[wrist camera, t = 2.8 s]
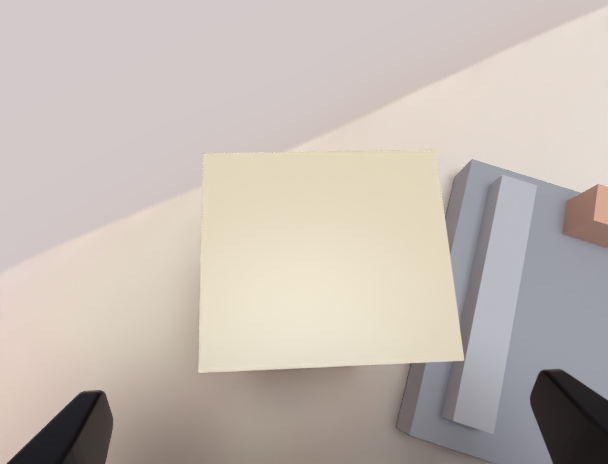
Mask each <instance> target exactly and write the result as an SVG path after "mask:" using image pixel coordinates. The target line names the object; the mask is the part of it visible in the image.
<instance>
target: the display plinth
mask: <svg viewBox="0 0 608 464" xmlns="http://www.w3.org/2000/svg"><path fill="white" fill-rule="evenodd" d="M445 221H446V229H447V236H448V243H449V251H450V258H451V265H452V273H453V280H454V288H455V295H456V302H457V310H458V317H459V324H460V332H461V339H462V346H463V354H464V361H447V362H425V363H411V367H410V371H409V375H408V379H407V384H406V388H405V392H404V396H403V401H402V405H401V409H400V413H399V418H398V422H397V426H396V428H398V429H400V430H402V431H403V432H405V433H407V434H408V435H410V436H413V437H416V438H419V439H422V440H425V441H428V442H431V443H434V444H437V445H440V446H443V447H446V448H449V449H452V450H455V451H458V452H461V453H464V454H467V455H470V456H473V457H476V458H479V459H482V460H485V461H488V462H491V463H494V464H553V463H552V460H551V458H550V455H549V452H548V450H547V447H546V445H545V442H544V439H543V437H542V434H541V432H540V429H539V426H538V424H537V421H536V419H535V416H534V414H533V411H532V408H531V405H530V394H531V391H532V389H533V386H534V384H535V381H536V378H537V376H538V374H539V372H540V371H541V370H544V369H561V370H564V371H565V372H567V373H568V374H570V375H571V376H573V377H574V378H576V379H577V380H579V381H580V382H582V383H583V384H585V385H586V386H588V387H589V388H591V389H592V390H594V391H595V392H597V393H598V394H600V395H601V396H602V397H604V398H605V399H607V400H608V187H606V186H603V185H599V184H598V185H596V186H594V187H592V188H590V189H588V190H587V191H585V192H583V193H580V192H576V191H573V190H570V189H567V188H563V187H560V186H557V185H554V184H551V183H547V182H544V181H541V180H538V179H534V178H531V177H528V176H525V175H522V174H518V173H515V172H512V171H509V170H505V169H502V168H499V167H496V166H492V165H489V164H486V163H483V162H480V161H476V160H473V159H472V160H471V161H470V162H469V163H468V164H467V165H466V166H465V167H464V168H463V169H462V170H461V171H460V172H459V173H458V174H457V175H456V176H455V179H454V183H453V188H452V192H451V196H450V200H449V205H448V209H447V213H446V217H445Z"/></svg>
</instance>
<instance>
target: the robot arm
mask: <svg viewBox="0 0 608 464" xmlns="http://www.w3.org/2000/svg"><path fill="white" fill-rule="evenodd" d="M530 405H531V408H532V411H533V414H534V416H535V419H536V421H537V424H538V426H539V429H540V432H541V434H542V437H543V439H544V442H545V445H546V447H547V450H548V452H549V455H550V458H551V460H552V463H553V464H608V400H607V399H605V398H604V397H602V396H601V395H600V394H598V393H597V392H595V391H594V390H592V389H591V388H589V387H588V386H586V385H585V384H583V383H582V382H580V381H579V380H577V379H576V378H574V377H573V376H571V375H570V374H568V373H567V372H565V371H564V370H561V369H544V370H541V371H540V372H539V374H538V376H537V378H536V381H535V384H534V386H533V389H532V391H531V394H530ZM112 429H113V417H112V413H111V410H110V407H109V403H108V400H107V397H106V394H105V393H104V392H103V391H101V390H95V391H83V392H81V393H79V394H78V395H77V396H76V397H75V398H74V399H73V400H72V401H71V402H70V403H69V404H68V405H67V406H66V407H65V408H64V409H63V410H62V411H60V412H59V413H58V414H57V415H56V416H55V417H54V418H53V419H52V420H51V421H50V422H49V423H48V424H47V425H46V426H45V427H44V428H43V429H42V430H41V431H40V432H39V433H38V434H37V435H36V436H35V437H34V438H33V439H32V440H30V441H29V442H28V443H27V444H26V445H25V446H24V447H23V448H22V449H21V450H20V451H19V452H18V453H17V454H16V455H15V456H14V457H13V458H12V459H11V460H10V461H9V462H8V463H7V464H105V462H106V458H107V453H108V448H109V443H110V439H111V434H112Z"/></svg>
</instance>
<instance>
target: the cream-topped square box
mask: <svg viewBox="0 0 608 464" xmlns="http://www.w3.org/2000/svg"><path fill="white" fill-rule="evenodd" d="M447 361H464V354H463V346H462V339H461V332H460V324H459V317H458V310H457V302H456V295H455V288H454V280H453V273H452V265H451V258H450V251H449V243H448V236H447V229H446V221H445V214H444V207H443V199H442V192H441V185H440V177H439V170H438V163H437V155H436V150H406V151H337V152H269V153H268V152H267V153H204V154H203V176H202V223H201V271H200V318H199V365H198V373H209V372H230V371H252V370H274V369H295V368H317V367H339V366H360V365H382V364H403V363H425V362H447Z"/></svg>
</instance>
